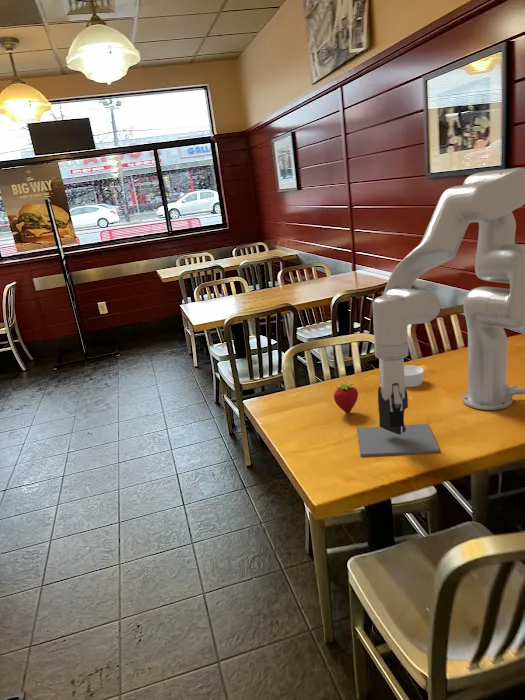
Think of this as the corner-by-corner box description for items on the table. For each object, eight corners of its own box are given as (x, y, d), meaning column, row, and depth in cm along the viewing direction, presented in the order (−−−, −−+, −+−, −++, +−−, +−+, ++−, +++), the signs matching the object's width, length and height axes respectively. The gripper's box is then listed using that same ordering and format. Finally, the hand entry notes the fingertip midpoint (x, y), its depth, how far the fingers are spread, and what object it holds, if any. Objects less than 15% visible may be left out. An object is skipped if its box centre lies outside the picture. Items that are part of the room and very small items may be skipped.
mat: (428, 425, 132) (428, 423, 132) (440, 452, 119) (439, 450, 119) (356, 430, 135) (356, 427, 135) (360, 456, 122) (360, 454, 122)
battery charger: (410, 431, 125) (410, 386, 122) (399, 436, 123) (398, 391, 120) (389, 422, 130) (387, 379, 127) (378, 427, 129) (376, 384, 125)
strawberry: (330, 415, 146) (327, 381, 143) (348, 406, 150) (346, 373, 147) (345, 420, 141) (343, 386, 138) (364, 411, 146) (362, 377, 143)
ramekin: (427, 379, 163) (427, 366, 162) (419, 389, 156) (418, 376, 155) (399, 376, 168) (399, 364, 167) (390, 386, 161) (389, 373, 160)
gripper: (371, 339, 129) (375, 406, 134) (378, 361, 113) (382, 436, 118) (402, 337, 128) (405, 404, 133) (414, 359, 112) (416, 434, 117)
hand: (394, 419), depth 125 cm, fingers closed on battery charger, 6 cm apart
